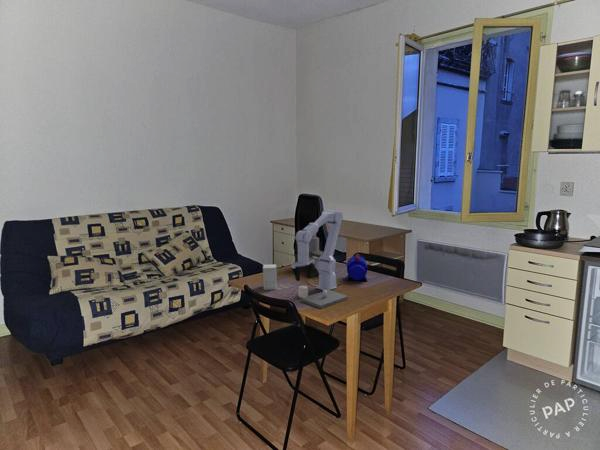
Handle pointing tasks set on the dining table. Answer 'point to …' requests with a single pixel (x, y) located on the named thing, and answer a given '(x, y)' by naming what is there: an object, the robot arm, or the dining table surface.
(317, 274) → the juicer
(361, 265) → the alarm clock
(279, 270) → the dining table surface
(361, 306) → the dining table surface
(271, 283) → the supplement box
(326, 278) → the robot arm
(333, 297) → the post board
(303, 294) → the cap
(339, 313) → the dining table surface
